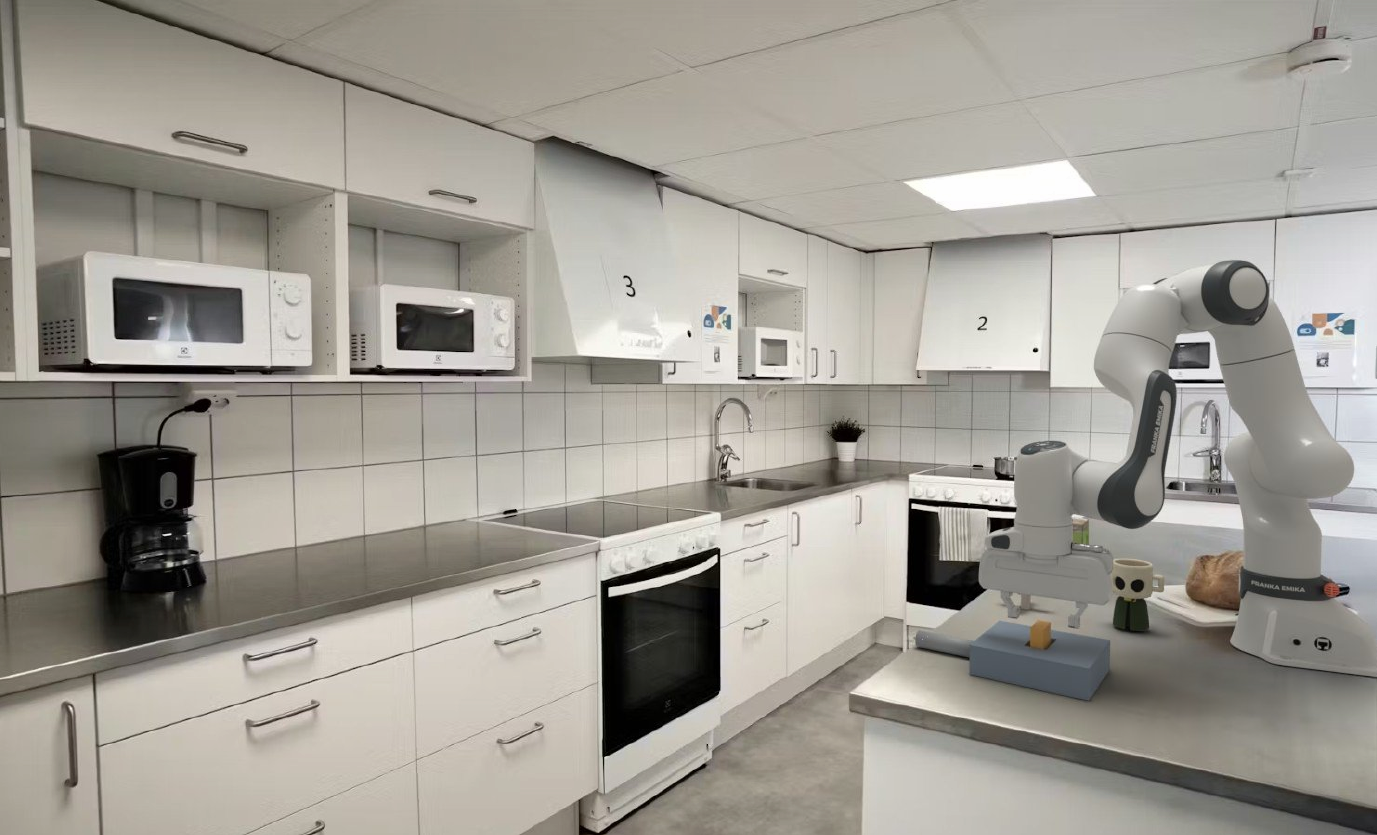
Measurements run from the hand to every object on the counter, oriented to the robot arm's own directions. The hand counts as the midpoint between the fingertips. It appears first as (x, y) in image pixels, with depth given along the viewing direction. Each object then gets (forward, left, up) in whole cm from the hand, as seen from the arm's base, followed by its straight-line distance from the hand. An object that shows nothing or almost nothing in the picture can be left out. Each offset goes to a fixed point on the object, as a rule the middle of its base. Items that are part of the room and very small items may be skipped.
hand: (1043, 622), depth 131 cm
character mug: (-8, -34, -9) cm, 36 cm away
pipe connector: (+12, -36, -9) cm, 39 cm away
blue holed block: (+6, 0, -8) cm, 11 cm away
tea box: (+14, -66, -9) cm, 68 cm away
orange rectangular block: (0, 0, -9) cm, 9 cm away
